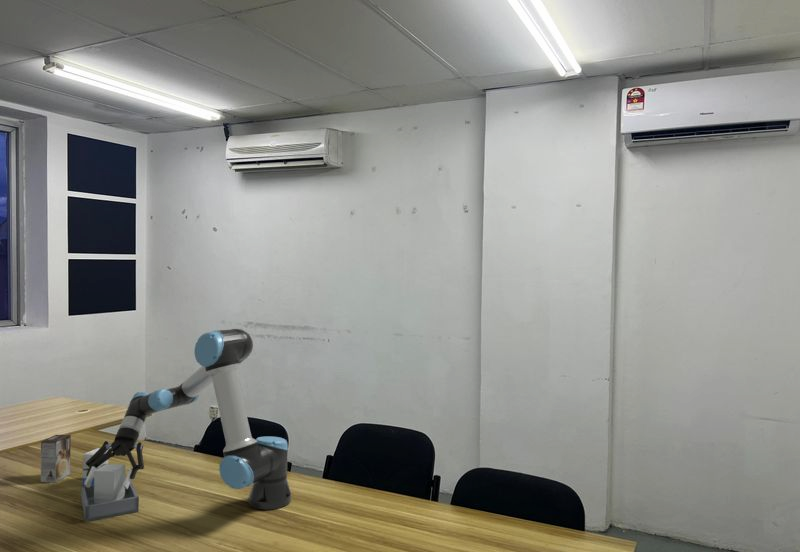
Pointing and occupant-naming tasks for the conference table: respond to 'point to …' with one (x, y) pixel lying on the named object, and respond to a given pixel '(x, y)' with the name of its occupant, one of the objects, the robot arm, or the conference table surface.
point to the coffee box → (55, 458)
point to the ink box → (85, 468)
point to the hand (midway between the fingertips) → (105, 486)
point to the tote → (108, 504)
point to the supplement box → (109, 483)
